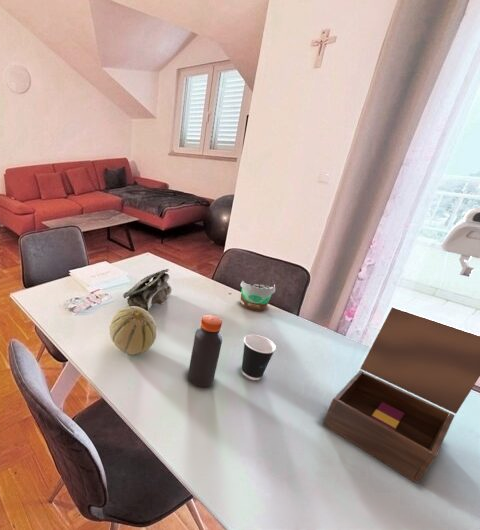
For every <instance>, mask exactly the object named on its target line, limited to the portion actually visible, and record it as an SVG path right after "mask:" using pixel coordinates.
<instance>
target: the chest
mask: <svg viewBox="0 0 480 530" xmlns="http://www.w3.org/2000/svg"><path fill="white" fill-rule="evenodd" d="M382 402H384V403H386V404H387V405H389V406H391V407H393V408H395V409H397V410H399V411H401V412H403V413H404V415H403V417H402V418H401V420H400V422H399V424H398V425H397V427H396V429H395V431H394V430H392V429H391V428H389V427H387V426H385V425H383V424H382V423H380V422H378V421H376V420H374V419H373V418H371V416H372V414H373V413H374V412H375V410H376V409H377V408H378V407H379V405H380V404H381V403H382ZM455 416H456V415H455V413H452V412H450V411H448V410H446V409H444V408H442V407H440V406H438V405H436V404H433V403H431V402H429V401H427V400H425V399H423V398H421V397H419V396H417V395H414V394H412V393H410V392H408V391H407V392H406V390H404V389H402V388H400V387H398V386H395V385H393V384H391V383H389V382H387V381H385V380H383V379H381V378H379V377H377V376H374V375H372V374H370V373H368V372H366V371H364V370H362V369H359V370H358V372H356V373H355V374H354V376H353V377H352V378H351V379H349V381H348V382H347V383H346V384H345V386H344V387H343V388H341V390H340V391H339V392H338V393H337V394H336V395H335V396H334V397H333V398H332V401H331V403H330V406H329V408H328V410H327V412H326V414H325V416H324V418H323V421H322V423H321V424H322V425H323V426H324V427H326V428H327V429H329V430H330V431H332V432H334V433H335V434H337V435H338V436H340V437H342V438H343V439H344V440H346V441H348V442H349V443H351V444H353V445H354V446H356V447H358V448H359V449H360V450H362V451H364V452H365V453H367V454H369V455H370V456H372V457H373V458H374V459H376V460H378V461H380V462H382V463H383V464H384V465H386V466H387V467H389V468H391V469H392V470H394V471H395V472H398V473H399V474H401V475H402V476H404V477H405V478H406V479H409V480H410V481H411V482H414V483H415V484H417V485H418V484H419V483H420V481H421V479H422V478H423V477H424V475H425V473H426V472H427V471H428V470H429V468H430V466H431V465H432V463H433V462H434V460H435V459H436V458H437V456H438V453H439V451H440V449H441V447H442V444H443V443H444V440H445V438H446V436H447V434H448V432H449V429H450V427H451V426H452V422H453V420H454V418H455Z"/></svg>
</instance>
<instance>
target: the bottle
mask: <svg viewBox="0 0 480 530" xmlns="http://www.w3.org/2000/svg"><path fill="white" fill-rule="evenodd" d="M222 325H223V320H222V319H221V317H219V316H217V315H214V314H204V315H203V316H201V320H200V328H199V329H197V330H196V331H195V332H194V338H193V344H192V350H191V354H190V355H191V356H190V360H189V361H190V362H189V366H188V372H187V378H188V380H189V381H190V383H192V384H193V385H194V386H196V387H198V388H209V387H211V386H212V385H213V384H214V380H215V377H216V371H217V366H218V361H219V358H220V353H221V349H222V344H223V336H222V334H221V333H220V332H221V329H222Z"/></svg>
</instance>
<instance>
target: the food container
mask: <svg viewBox="0 0 480 530" xmlns="http://www.w3.org/2000/svg"><path fill="white" fill-rule="evenodd" d="M239 285H240V287H241V289H240V290H241V291H240V299H239V302H240V305H241V306H242V307H243V308H245V309H247V310H250V311H253V312H262V311H263V312H264V311H265V310H266V309H267V308H268V307H267V306H268V304H269V302H270V300H271V297H272V295H273V294H274V293H276V283H275V284H273V285H266V284H263V283H249V282H245V281H244V280H242V281H241V282H240V284H239Z"/></svg>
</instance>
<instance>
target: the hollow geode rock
mask: <svg viewBox="0 0 480 530" xmlns="http://www.w3.org/2000/svg"><path fill="white" fill-rule="evenodd" d="M169 271H170V269H168V268H166V269H162V270H159V271H157V272H155V273H152V274H149V275H146V276H145V277H143V278H142V279H140V281H138V282H137V283H135V284H134V286H133V287H131V288H130V289H129V290H128V291H127V292H124V293H123V295H122V297H123V299H126V300H127V305H128V307H130V306H137V307H140V308H143V309H145V310H146V311H148V312H149V310H150V309H151V307H152V306H153V305H156V304H158V305H160V306H162V305H165V304H166V303H167V300H168V297H169V296H170V295H171V294H172V291H173V288H172V287H171V285H170V284H169V283H168V281H169V280H170V275H169V274H168V272H169Z"/></svg>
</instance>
